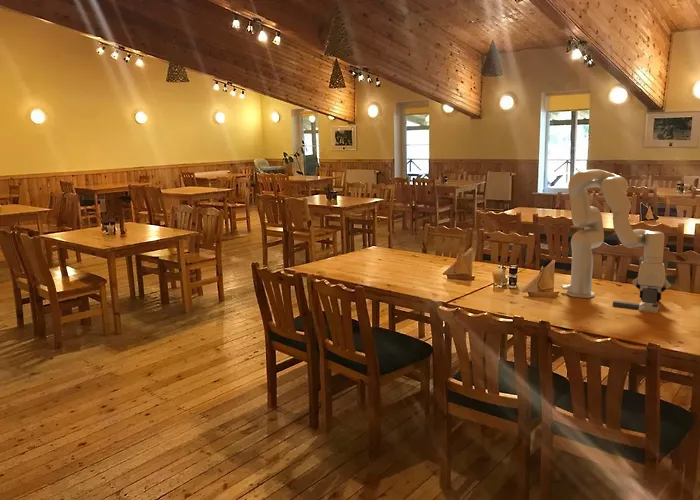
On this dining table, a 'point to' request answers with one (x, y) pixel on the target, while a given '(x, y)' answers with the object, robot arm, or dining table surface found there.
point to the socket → (650, 295)
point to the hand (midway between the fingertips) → (650, 299)
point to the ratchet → (638, 306)
